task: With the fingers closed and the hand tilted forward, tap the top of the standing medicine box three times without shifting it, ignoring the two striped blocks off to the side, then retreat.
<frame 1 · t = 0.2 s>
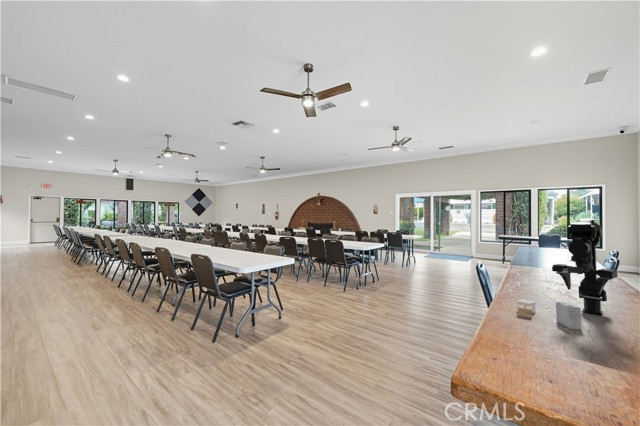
hand: (583, 291, 113), 14 cm above the table, tool pointing down, fingers open, 9 cm apart
oak block: (525, 315, 126), on the table
medicine box: (568, 326, 113), on the table
grey block: (526, 311, 131), on the table
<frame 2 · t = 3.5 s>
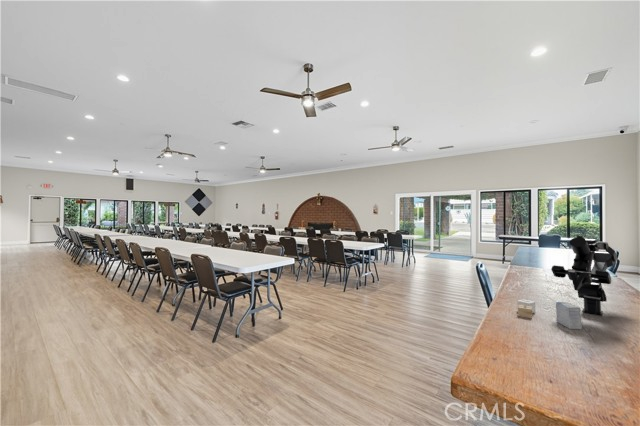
hand: (575, 289, 119), 13 cm above the table, tool tilted 45°, fingers closed
nothing on the table moved.
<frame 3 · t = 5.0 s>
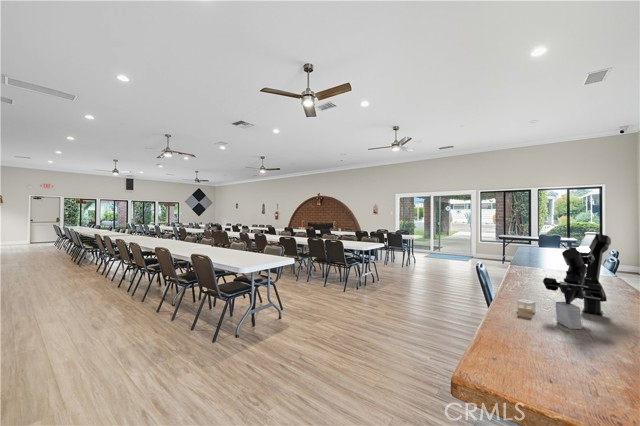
hand: (567, 303, 114), 9 cm above the table, tool tilted 45°, fingers closed, pressing on medicine box
medicine box: (568, 326, 113), on the table, touching gripper
everything else where it was.
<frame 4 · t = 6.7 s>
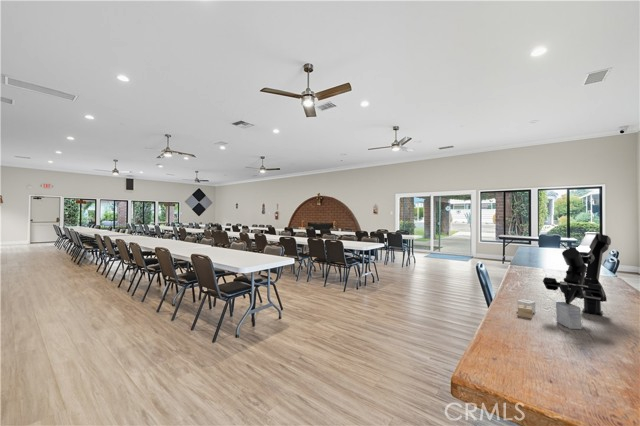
hand: (567, 303, 114), 9 cm above the table, tool tilted 45°, fingers closed
medicine box: (568, 326, 113), on the table
everything else where it was.
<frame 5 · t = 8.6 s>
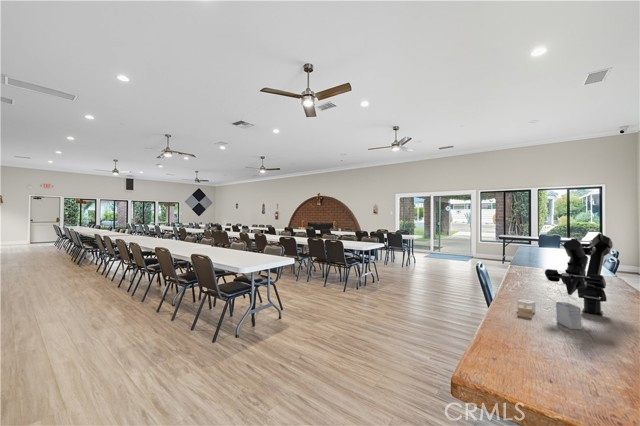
hand: (569, 294, 115), 12 cm above the table, tool tilted 45°, fingers closed
nothing on the table moved.
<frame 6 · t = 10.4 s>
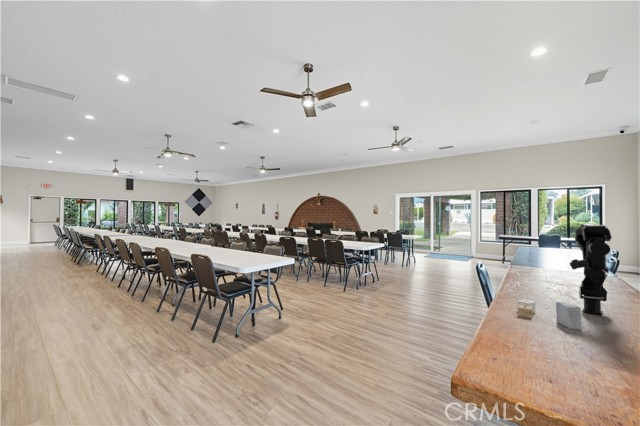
hand: (597, 290, 118), 13 cm above the table, tool pointing down, fingers closed
nothing on the table moved.
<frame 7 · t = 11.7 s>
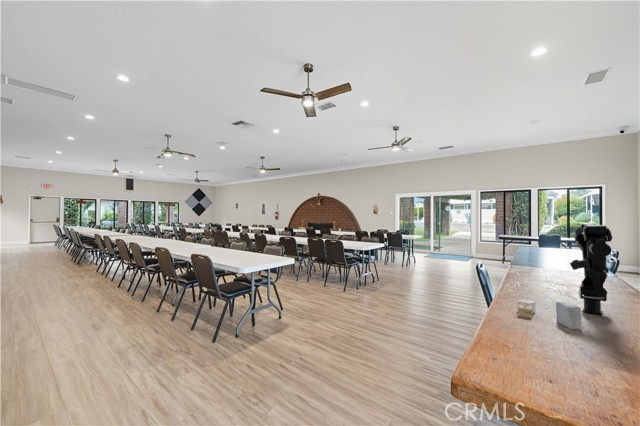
hand: (598, 291, 118), 13 cm above the table, tool pointing down, fingers closed
nothing on the table moved.
at the end: medicine box moved 0.3 cm from its start; medicine box tilted 0°; oak block moved 0.2 cm from its start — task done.
